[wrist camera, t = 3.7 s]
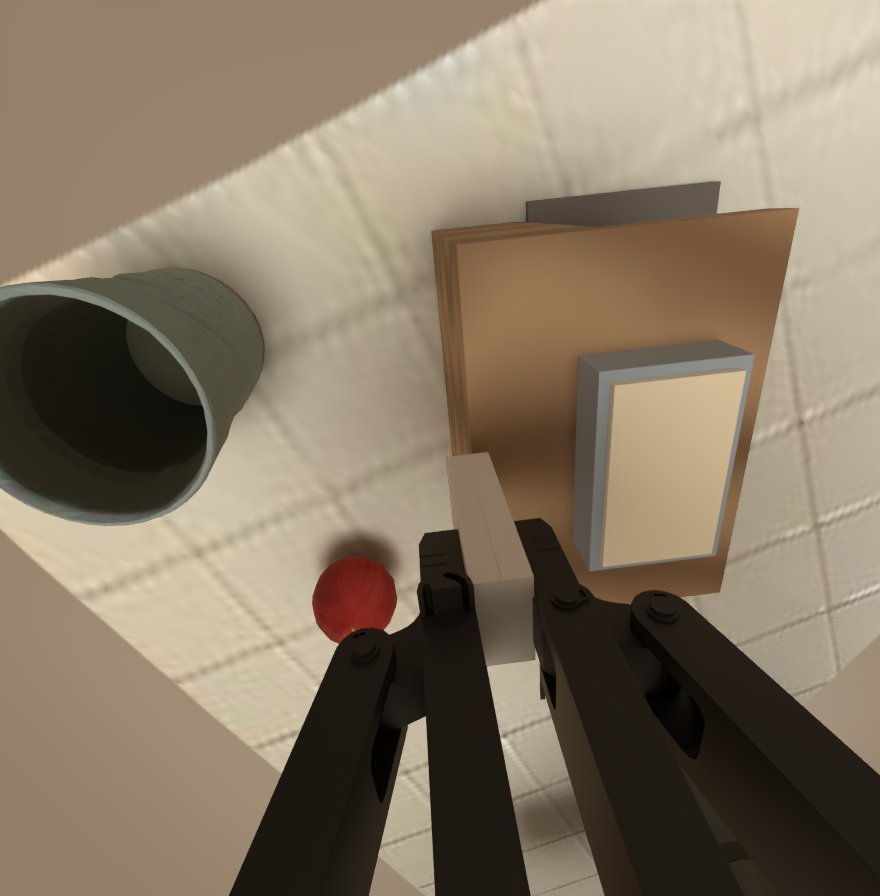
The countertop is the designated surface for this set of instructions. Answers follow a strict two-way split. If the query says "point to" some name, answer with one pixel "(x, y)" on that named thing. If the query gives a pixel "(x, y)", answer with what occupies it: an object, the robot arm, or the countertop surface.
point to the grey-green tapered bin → (120, 390)
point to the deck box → (656, 451)
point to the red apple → (353, 597)
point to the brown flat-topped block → (596, 347)
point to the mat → (627, 206)
